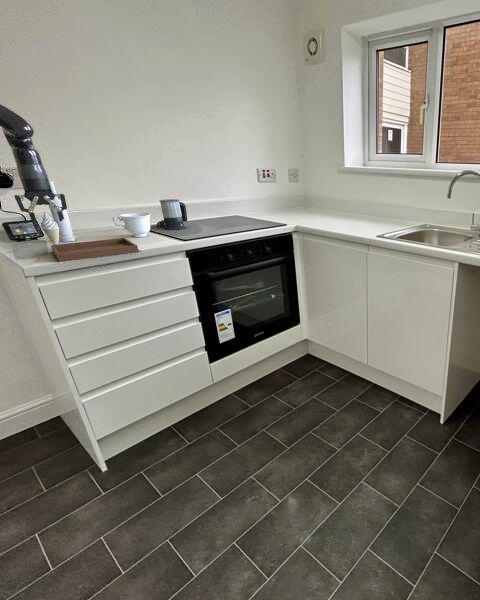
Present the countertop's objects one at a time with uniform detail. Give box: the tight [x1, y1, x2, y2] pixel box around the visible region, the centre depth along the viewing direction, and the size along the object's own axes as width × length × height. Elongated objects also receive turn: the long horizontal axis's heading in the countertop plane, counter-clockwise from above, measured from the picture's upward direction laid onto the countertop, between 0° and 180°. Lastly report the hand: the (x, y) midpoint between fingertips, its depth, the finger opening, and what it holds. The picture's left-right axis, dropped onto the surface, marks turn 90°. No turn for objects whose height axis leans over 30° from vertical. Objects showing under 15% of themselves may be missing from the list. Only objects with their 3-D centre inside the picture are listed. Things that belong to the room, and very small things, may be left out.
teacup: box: [112, 212, 152, 238], centre depth 165 cm, size 12×15×10 cm
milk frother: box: [156, 198, 188, 231], centre depth 188 cm, size 14×16×15 cm
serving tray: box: [50, 237, 140, 262], centre depth 138 cm, size 24×20×3 cm
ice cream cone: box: [40, 210, 60, 245], centre depth 138 cm, size 5×5×15 cm
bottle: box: [48, 180, 76, 243], centre depth 150 cm, size 5×5×25 cm
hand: (48, 221), depth 137 cm, fingers open, 6 cm apart
